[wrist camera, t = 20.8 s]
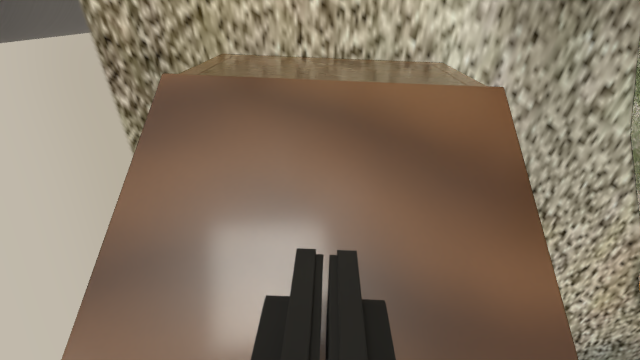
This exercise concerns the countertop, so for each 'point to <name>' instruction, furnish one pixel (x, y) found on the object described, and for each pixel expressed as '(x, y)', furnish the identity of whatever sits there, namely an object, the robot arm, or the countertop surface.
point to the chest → (332, 69)
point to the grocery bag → (636, 129)
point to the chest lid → (323, 221)
